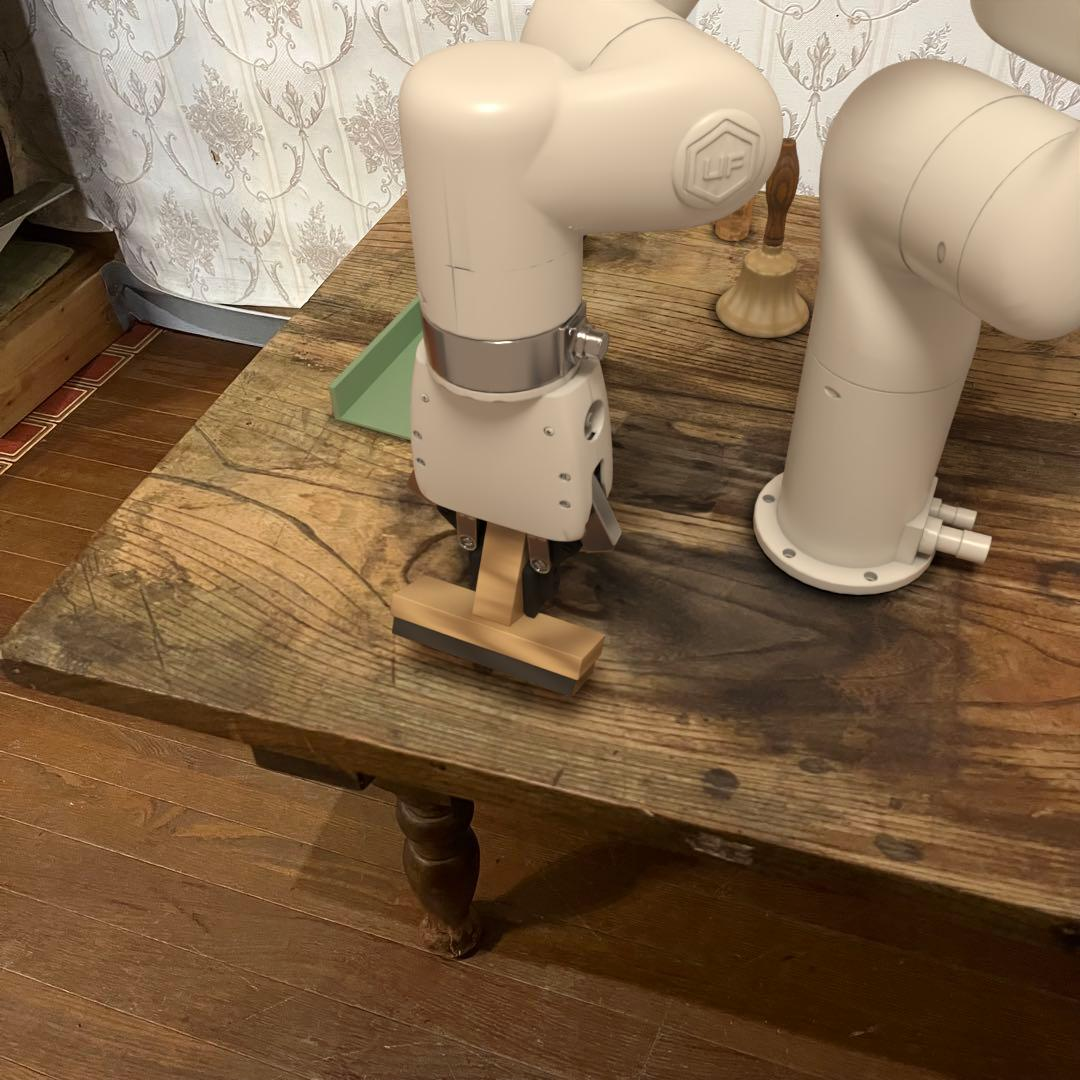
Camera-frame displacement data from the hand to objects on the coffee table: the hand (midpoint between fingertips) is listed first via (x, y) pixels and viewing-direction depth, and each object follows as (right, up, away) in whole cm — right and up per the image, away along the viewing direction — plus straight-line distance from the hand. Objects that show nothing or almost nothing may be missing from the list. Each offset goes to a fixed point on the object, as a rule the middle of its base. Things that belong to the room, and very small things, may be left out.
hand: (516, 591), depth 62 cm
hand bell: (+21, +23, +32) cm, 45 cm away
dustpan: (-3, +18, +27) cm, 32 cm away
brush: (-1, -4, -1) cm, 4 cm away
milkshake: (+21, +34, +42) cm, 58 cm away
